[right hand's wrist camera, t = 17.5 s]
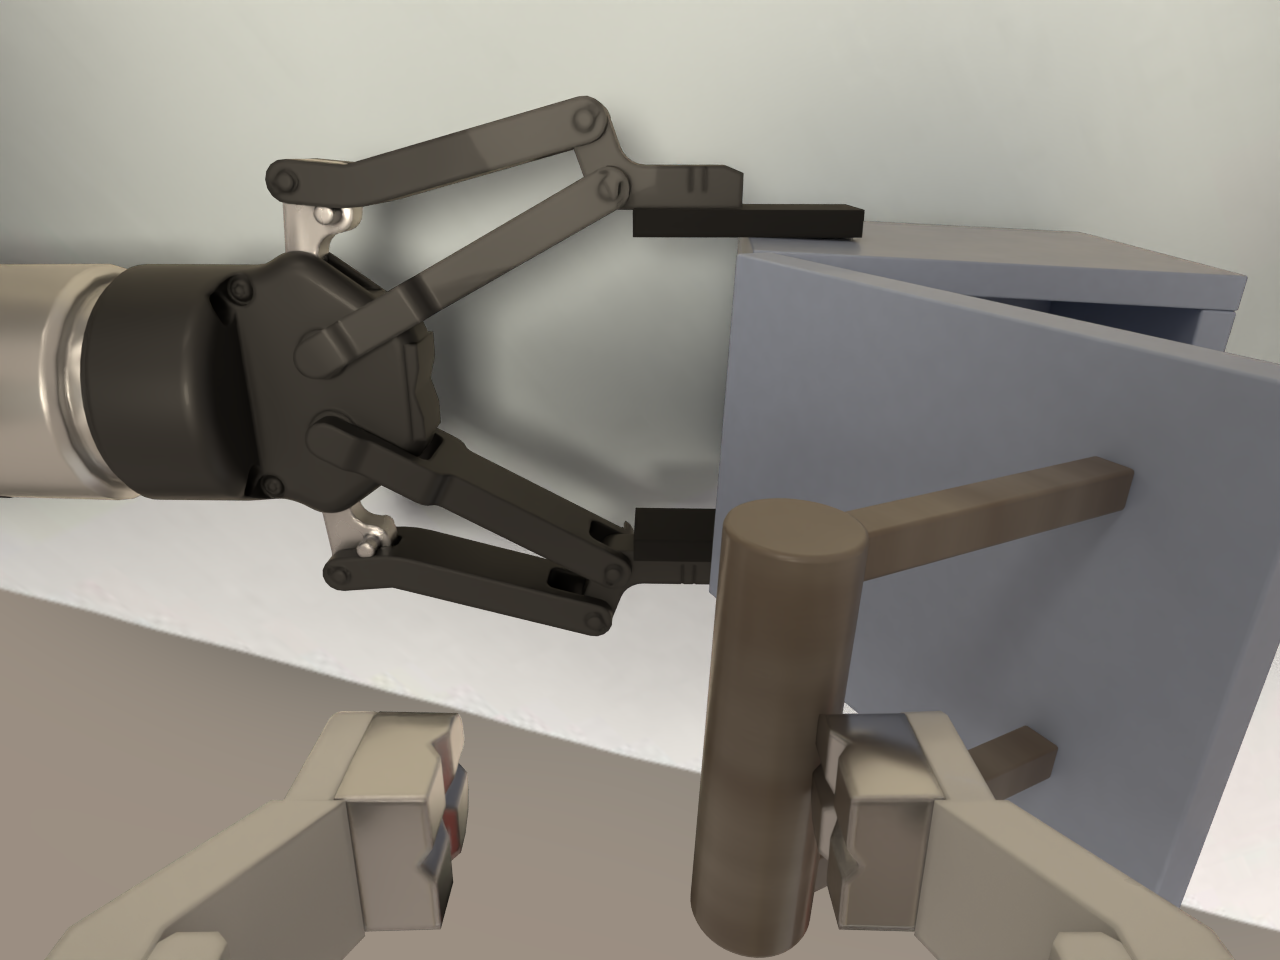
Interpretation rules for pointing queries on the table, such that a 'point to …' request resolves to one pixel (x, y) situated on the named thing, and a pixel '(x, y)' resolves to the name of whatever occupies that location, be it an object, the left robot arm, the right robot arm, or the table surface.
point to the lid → (978, 571)
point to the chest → (1040, 274)
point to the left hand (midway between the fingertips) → (838, 388)
